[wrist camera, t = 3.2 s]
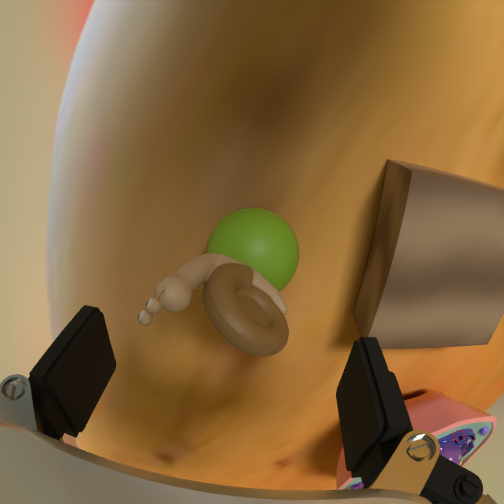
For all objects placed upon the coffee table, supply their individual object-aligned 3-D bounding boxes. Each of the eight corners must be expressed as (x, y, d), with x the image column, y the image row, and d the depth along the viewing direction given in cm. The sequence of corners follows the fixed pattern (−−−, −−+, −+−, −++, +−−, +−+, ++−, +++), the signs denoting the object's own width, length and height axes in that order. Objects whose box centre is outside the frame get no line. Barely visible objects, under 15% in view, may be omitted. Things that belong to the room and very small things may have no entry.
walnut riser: (387, 159, 18) (412, 170, 14) (510, 191, 17) (541, 207, 14) (353, 314, 23) (363, 348, 19) (468, 316, 22) (487, 344, 19)
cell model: (299, 448, 32) (299, 526, 22) (398, 342, 24) (438, 448, 14) (397, 457, 34) (409, 519, 24) (494, 368, 26) (531, 438, 15)
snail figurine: (235, 171, 19) (180, 251, 8) (312, 231, 20) (346, 363, 9) (189, 233, 21) (112, 353, 10) (262, 285, 22) (248, 428, 11)
